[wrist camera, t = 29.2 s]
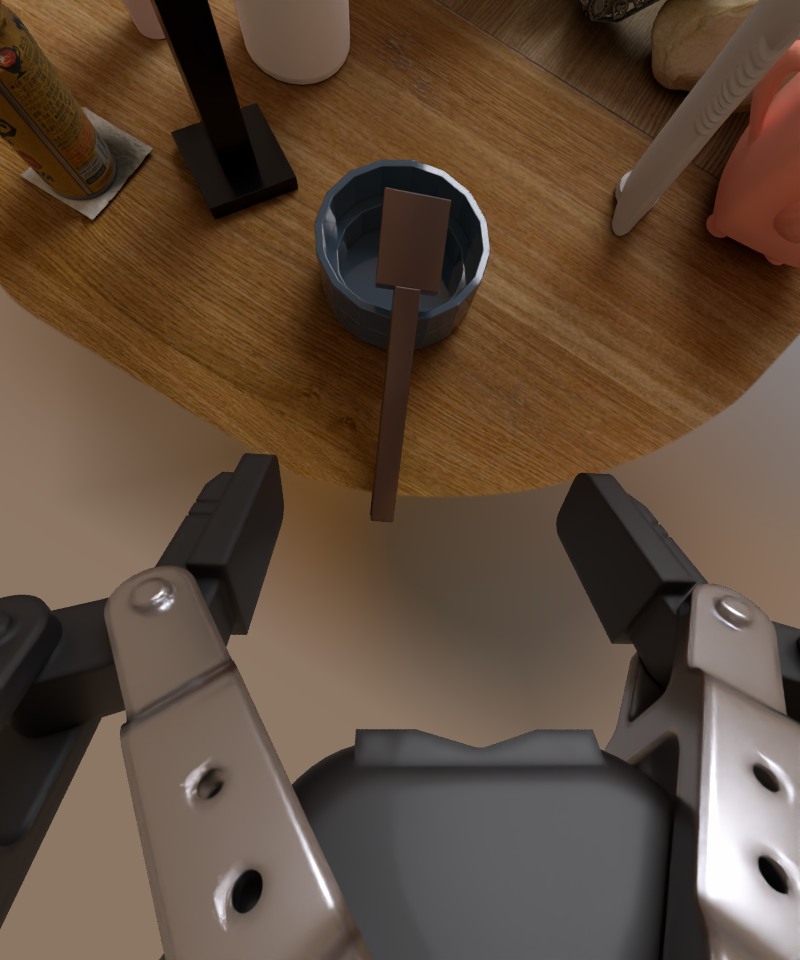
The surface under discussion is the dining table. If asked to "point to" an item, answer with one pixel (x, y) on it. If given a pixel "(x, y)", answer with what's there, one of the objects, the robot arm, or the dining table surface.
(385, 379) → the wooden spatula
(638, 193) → the tall pale column
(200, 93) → the black pedestal stand
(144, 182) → the dining table surface
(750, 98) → the stone
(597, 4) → the toy tank
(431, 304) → the bowl
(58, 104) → the condiment
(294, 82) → the mug
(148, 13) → the smoothie
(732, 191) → the teapot
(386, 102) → the dining table surface
